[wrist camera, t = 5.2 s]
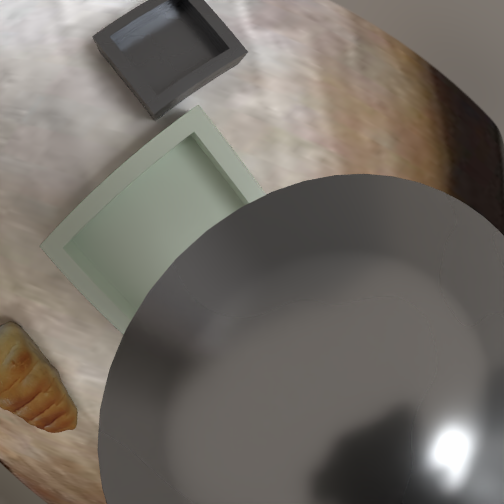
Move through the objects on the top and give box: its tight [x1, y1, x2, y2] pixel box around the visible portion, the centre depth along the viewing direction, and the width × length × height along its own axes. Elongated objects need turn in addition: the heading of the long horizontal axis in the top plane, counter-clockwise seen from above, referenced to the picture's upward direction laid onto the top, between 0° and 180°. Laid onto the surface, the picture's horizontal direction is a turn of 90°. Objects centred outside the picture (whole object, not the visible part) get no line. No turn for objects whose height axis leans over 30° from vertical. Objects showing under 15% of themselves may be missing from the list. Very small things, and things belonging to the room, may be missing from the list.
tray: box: [40, 105, 266, 335], centre depth 19 cm, size 11×18×2 cm, turn 37°
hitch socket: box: [93, 0, 248, 120], centre depth 14 cm, size 6×6×2 cm
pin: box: [98, 174, 504, 504], centre depth 8 cm, size 5×5×14 cm
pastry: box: [0, 322, 77, 433], centre depth 16 cm, size 9×7×4 cm
